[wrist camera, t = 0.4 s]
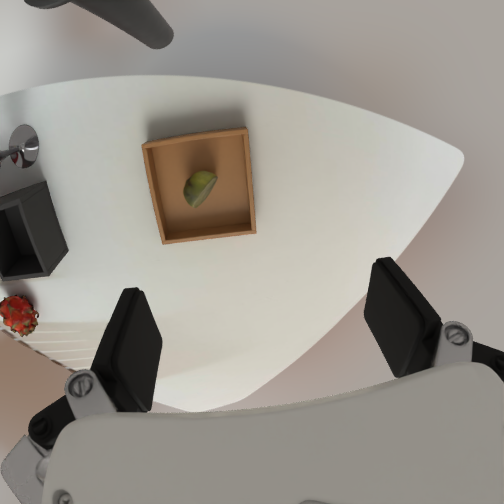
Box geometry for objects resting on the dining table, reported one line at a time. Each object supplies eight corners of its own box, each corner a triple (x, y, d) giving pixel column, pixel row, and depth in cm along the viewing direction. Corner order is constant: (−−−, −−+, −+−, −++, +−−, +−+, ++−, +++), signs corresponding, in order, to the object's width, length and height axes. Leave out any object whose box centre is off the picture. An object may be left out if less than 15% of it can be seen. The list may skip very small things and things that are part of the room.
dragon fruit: (51, 310, 48) (15, 290, 47) (34, 301, 41) (-3, 278, 39) (40, 346, 44) (4, 323, 43) (21, 341, 37) (-16, 315, 35)
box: (146, 141, 34) (141, 144, 31) (246, 127, 34) (247, 128, 32) (165, 235, 41) (162, 244, 38) (254, 225, 41) (256, 233, 39)
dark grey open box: (-1, 197, 33) (-26, 215, 27) (46, 180, 34) (19, 198, 27) (22, 258, 40) (2, 281, 33) (68, 250, 40) (49, 276, 34)
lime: (217, 166, 36) (216, 175, 32) (219, 200, 38) (218, 214, 34) (184, 168, 36) (178, 178, 31) (187, 202, 38) (182, 216, 34)
